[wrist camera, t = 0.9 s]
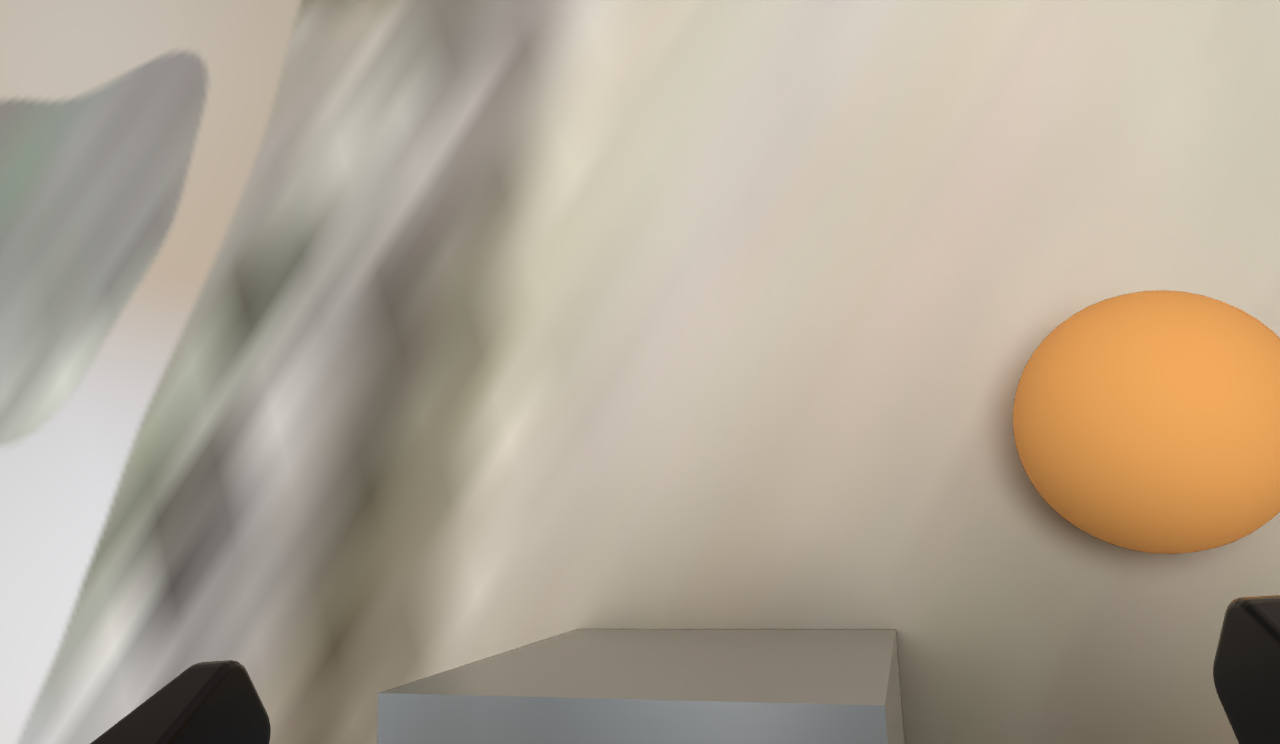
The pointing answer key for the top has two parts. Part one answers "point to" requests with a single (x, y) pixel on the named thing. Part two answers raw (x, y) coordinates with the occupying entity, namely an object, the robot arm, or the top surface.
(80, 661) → the top surface
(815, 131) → the top surface
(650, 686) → the grey block
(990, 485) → the top surface
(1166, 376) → the ball
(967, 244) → the top surface
